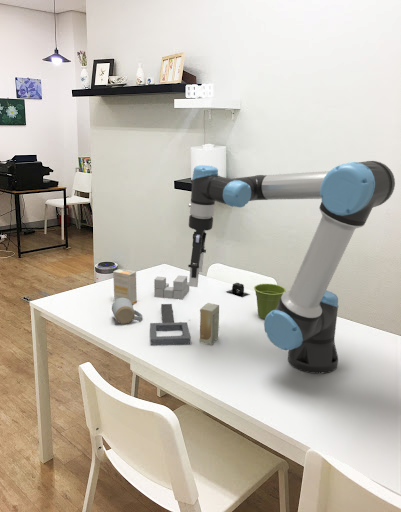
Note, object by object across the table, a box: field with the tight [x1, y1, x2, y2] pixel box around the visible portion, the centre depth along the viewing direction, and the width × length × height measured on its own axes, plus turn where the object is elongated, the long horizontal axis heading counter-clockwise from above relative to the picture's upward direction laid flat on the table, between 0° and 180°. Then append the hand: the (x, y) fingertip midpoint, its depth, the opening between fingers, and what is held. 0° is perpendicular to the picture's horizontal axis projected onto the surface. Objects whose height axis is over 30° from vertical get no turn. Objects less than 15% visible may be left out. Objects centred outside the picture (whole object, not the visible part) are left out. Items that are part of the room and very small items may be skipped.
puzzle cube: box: [153, 275, 190, 301], centre depth 206 cm, size 12×12×8 cm
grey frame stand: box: [149, 303, 192, 346], centre depth 175 cm, size 31×13×2 cm, turn 6°
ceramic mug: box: [111, 298, 144, 325], centre depth 178 cm, size 11×8×8 cm
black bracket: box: [225, 282, 251, 298], centre depth 209 cm, size 12×7×5 cm, turn 47°
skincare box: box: [199, 302, 220, 346], centre depth 162 cm, size 6×4×12 cm
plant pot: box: [253, 283, 287, 320], centre depth 183 cm, size 12×12×11 cm
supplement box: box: [112, 268, 138, 306], centre depth 194 cm, size 8×5×13 cm, turn 58°
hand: (195, 278), depth 160 cm, fingers open, 13 cm apart
